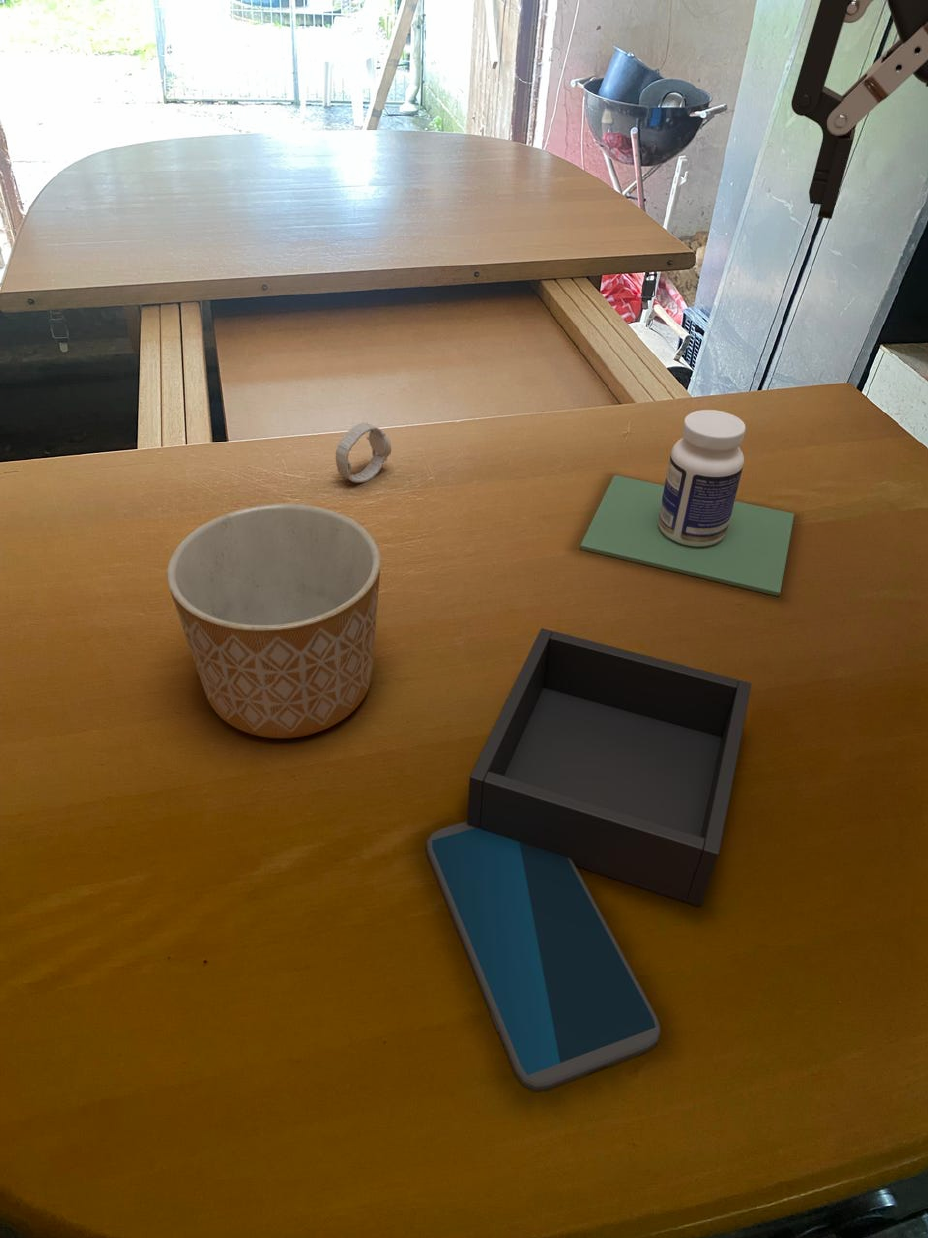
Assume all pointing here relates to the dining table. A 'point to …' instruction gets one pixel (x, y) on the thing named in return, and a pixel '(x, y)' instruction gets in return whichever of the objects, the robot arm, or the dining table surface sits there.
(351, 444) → the wristwatch
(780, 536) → the mat
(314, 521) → the planter
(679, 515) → the pill bottle
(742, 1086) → the dining table surface
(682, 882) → the black box
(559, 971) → the smartphone
